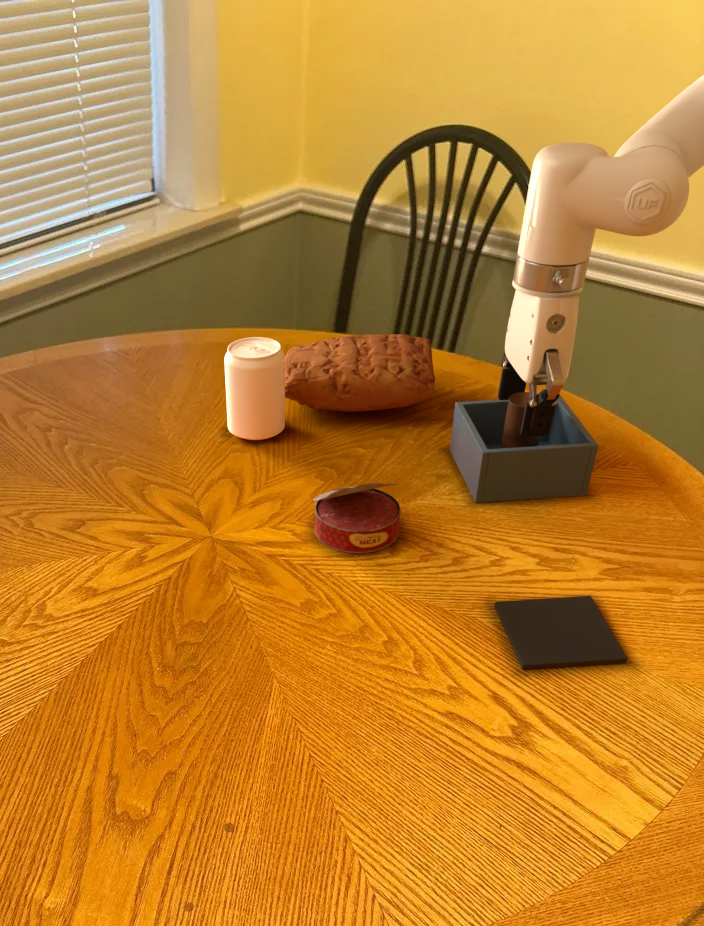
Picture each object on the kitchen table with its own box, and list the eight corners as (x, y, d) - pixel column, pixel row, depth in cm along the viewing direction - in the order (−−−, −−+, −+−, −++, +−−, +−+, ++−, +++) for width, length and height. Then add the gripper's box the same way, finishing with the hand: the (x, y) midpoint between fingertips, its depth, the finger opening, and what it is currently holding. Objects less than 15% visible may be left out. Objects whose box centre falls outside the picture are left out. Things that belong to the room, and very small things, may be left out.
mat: (589, 599, 93) (590, 595, 93) (626, 663, 85) (627, 658, 85) (493, 606, 93) (494, 601, 93) (522, 669, 85) (523, 665, 85)
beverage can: (257, 411, 130) (254, 330, 123) (297, 428, 126) (297, 345, 118) (216, 430, 126) (211, 348, 119) (255, 449, 122) (253, 364, 114)
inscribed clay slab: (432, 379, 136) (437, 327, 131) (430, 431, 123) (436, 376, 118) (288, 375, 140) (287, 324, 134) (272, 425, 127) (271, 371, 122)
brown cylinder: (527, 456, 115) (540, 390, 109) (538, 473, 111) (551, 406, 106) (493, 458, 115) (504, 393, 109) (503, 475, 111) (514, 408, 106)
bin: (550, 443, 119) (560, 395, 114) (586, 495, 108) (598, 445, 104) (449, 449, 119) (455, 402, 114) (475, 502, 108) (482, 452, 104)
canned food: (320, 576, 106) (280, 510, 102) (349, 525, 112) (312, 460, 108) (404, 560, 99) (365, 488, 94) (430, 507, 105) (394, 436, 100)
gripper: (612, 298, 91) (576, 449, 102) (558, 246, 104) (530, 384, 115) (540, 302, 91) (511, 452, 102) (494, 249, 104) (473, 387, 115)
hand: (521, 416), depth 109 cm, fingers open, 9 cm apart
